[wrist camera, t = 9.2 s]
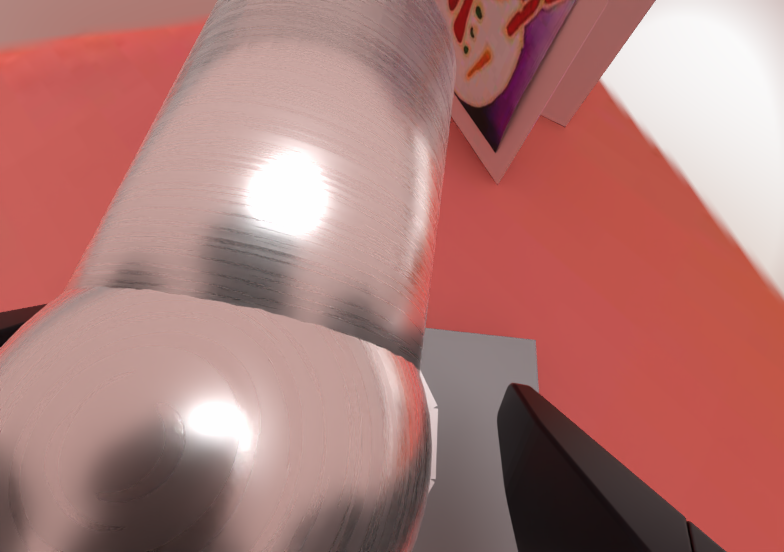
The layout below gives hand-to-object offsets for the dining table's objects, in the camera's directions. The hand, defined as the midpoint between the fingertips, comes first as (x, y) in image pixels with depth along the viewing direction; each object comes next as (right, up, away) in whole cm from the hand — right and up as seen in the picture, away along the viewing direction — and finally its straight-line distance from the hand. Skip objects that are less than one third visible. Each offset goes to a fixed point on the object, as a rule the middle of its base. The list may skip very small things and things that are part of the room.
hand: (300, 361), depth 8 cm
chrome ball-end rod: (-1, -2, +7) cm, 8 cm away
